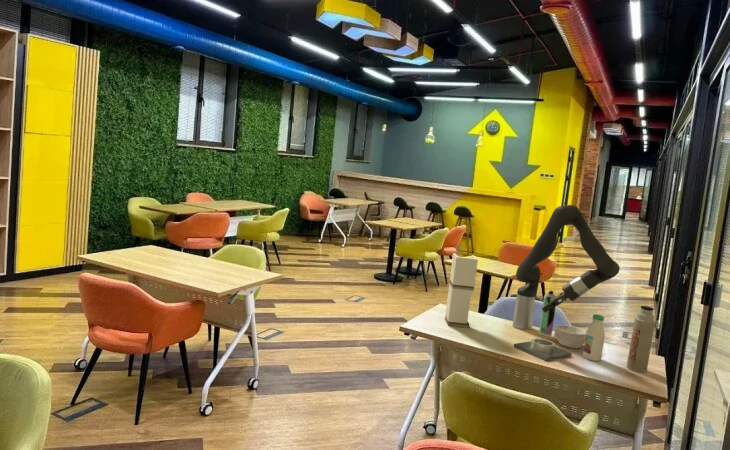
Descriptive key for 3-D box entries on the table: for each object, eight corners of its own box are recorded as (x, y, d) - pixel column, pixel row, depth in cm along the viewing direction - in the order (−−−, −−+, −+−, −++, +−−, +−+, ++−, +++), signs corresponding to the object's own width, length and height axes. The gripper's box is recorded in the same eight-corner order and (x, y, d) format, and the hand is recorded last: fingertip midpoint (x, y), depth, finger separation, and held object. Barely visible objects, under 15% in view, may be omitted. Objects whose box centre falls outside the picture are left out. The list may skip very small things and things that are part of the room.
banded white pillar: (468, 327, 276) (477, 259, 272) (447, 325, 276) (456, 257, 272) (465, 321, 288) (473, 255, 283) (444, 319, 288) (453, 253, 283)
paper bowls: (558, 337, 276) (560, 322, 275) (590, 346, 268) (592, 330, 267) (549, 344, 264) (551, 328, 263) (581, 353, 255) (584, 336, 254)
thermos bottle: (633, 372, 237) (643, 308, 233) (622, 364, 245) (633, 303, 241) (650, 373, 237) (661, 310, 234) (639, 366, 245) (650, 305, 242)
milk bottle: (600, 357, 252) (607, 315, 249) (601, 362, 244) (608, 319, 242) (582, 353, 254) (589, 311, 252) (583, 359, 247) (589, 315, 244)
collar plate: (539, 343, 264) (540, 333, 263) (571, 356, 249) (572, 346, 248) (513, 346, 254) (514, 337, 253) (545, 361, 239) (547, 351, 238)
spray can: (552, 336, 247) (558, 293, 245) (539, 334, 248) (545, 291, 246) (550, 333, 252) (556, 290, 250) (538, 331, 253) (544, 288, 251)
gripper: (572, 279, 250) (541, 299, 257) (568, 284, 237) (536, 305, 244) (583, 292, 249) (551, 312, 255) (580, 298, 236) (547, 319, 242)
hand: (544, 309), depth 249 cm, fingers closed on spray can, 5 cm apart
